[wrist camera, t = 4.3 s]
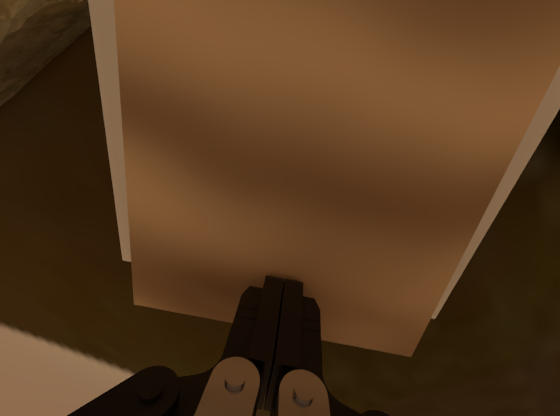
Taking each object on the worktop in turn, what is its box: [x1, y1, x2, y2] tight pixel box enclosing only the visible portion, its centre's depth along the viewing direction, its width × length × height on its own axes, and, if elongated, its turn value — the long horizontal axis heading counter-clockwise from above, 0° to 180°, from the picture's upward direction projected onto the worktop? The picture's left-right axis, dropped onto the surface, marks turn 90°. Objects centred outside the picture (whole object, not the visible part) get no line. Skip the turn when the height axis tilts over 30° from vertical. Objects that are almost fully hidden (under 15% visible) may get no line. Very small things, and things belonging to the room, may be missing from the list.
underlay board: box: [88, 0, 560, 319], centre depth 10 cm, size 22×16×2 cm
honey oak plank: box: [114, 0, 560, 357], centre depth 10 cm, size 15×12×2 cm
